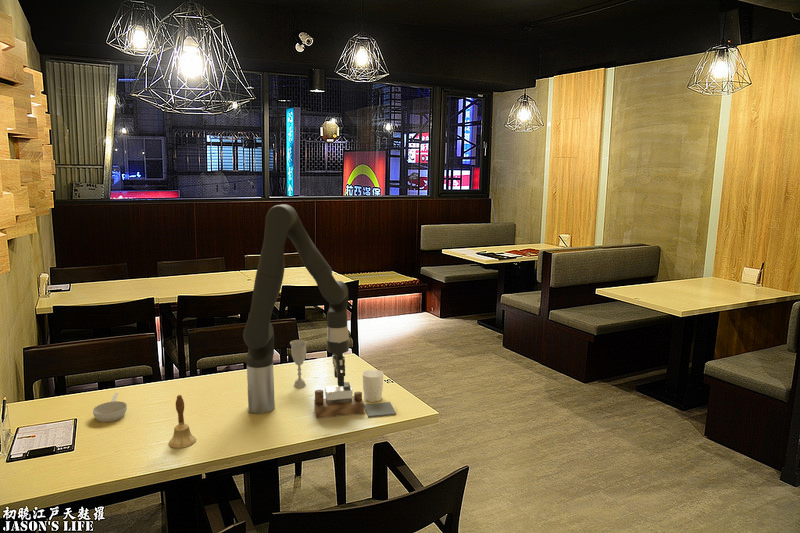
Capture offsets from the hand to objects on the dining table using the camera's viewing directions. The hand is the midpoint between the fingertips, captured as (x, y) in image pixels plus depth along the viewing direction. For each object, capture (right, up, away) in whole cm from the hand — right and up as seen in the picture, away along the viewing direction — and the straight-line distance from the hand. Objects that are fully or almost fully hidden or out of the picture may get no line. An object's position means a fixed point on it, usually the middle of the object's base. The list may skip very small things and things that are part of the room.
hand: (339, 381), depth 207 cm
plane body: (0, -11, +2) cm, 12 cm away
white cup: (+11, -9, +14) cm, 20 cm away
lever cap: (0, -5, +1) cm, 6 cm away
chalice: (-19, -7, +26) cm, 33 cm away
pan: (-81, -11, +1) cm, 82 cm away
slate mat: (+14, -11, +4) cm, 18 cm away
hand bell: (-48, -16, -20) cm, 55 cm away
